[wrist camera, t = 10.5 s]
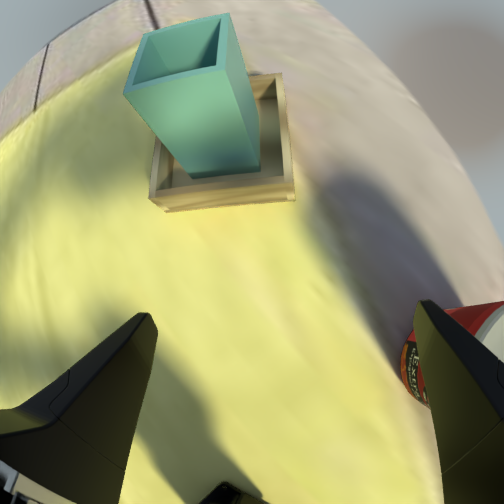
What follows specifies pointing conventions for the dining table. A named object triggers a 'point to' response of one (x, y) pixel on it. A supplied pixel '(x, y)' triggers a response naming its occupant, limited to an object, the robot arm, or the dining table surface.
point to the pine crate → (238, 185)
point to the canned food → (472, 319)
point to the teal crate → (198, 96)
